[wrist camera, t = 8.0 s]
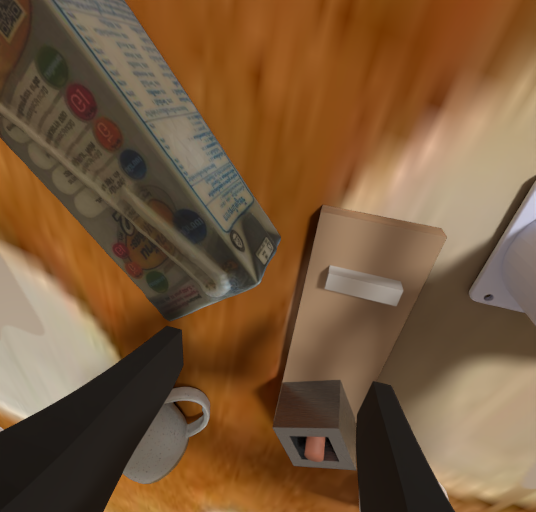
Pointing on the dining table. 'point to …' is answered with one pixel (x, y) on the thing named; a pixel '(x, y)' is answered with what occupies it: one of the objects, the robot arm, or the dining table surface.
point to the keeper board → (357, 300)
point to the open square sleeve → (316, 423)
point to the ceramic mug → (166, 438)
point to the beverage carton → (128, 152)
